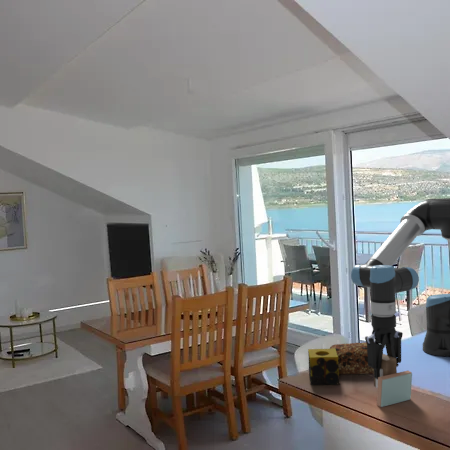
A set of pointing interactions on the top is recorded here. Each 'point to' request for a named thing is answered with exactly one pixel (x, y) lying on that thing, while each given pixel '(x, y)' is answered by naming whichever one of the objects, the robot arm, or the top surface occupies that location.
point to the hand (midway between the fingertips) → (385, 386)
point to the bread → (353, 358)
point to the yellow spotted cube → (323, 367)
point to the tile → (394, 388)
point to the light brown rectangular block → (387, 366)
